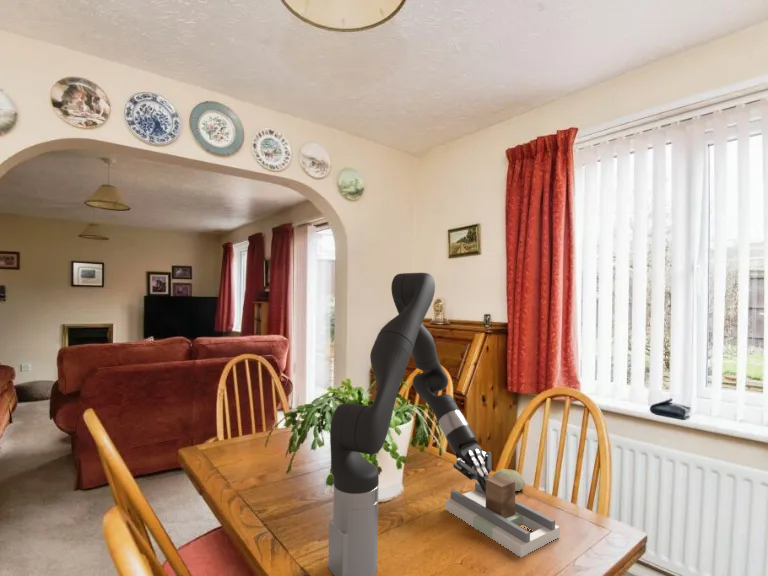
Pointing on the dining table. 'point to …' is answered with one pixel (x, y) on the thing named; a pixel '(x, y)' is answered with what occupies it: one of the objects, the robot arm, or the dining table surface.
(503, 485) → the walnut block
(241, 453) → the dining table surface
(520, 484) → the sea urchin shell
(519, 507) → the lane deck
